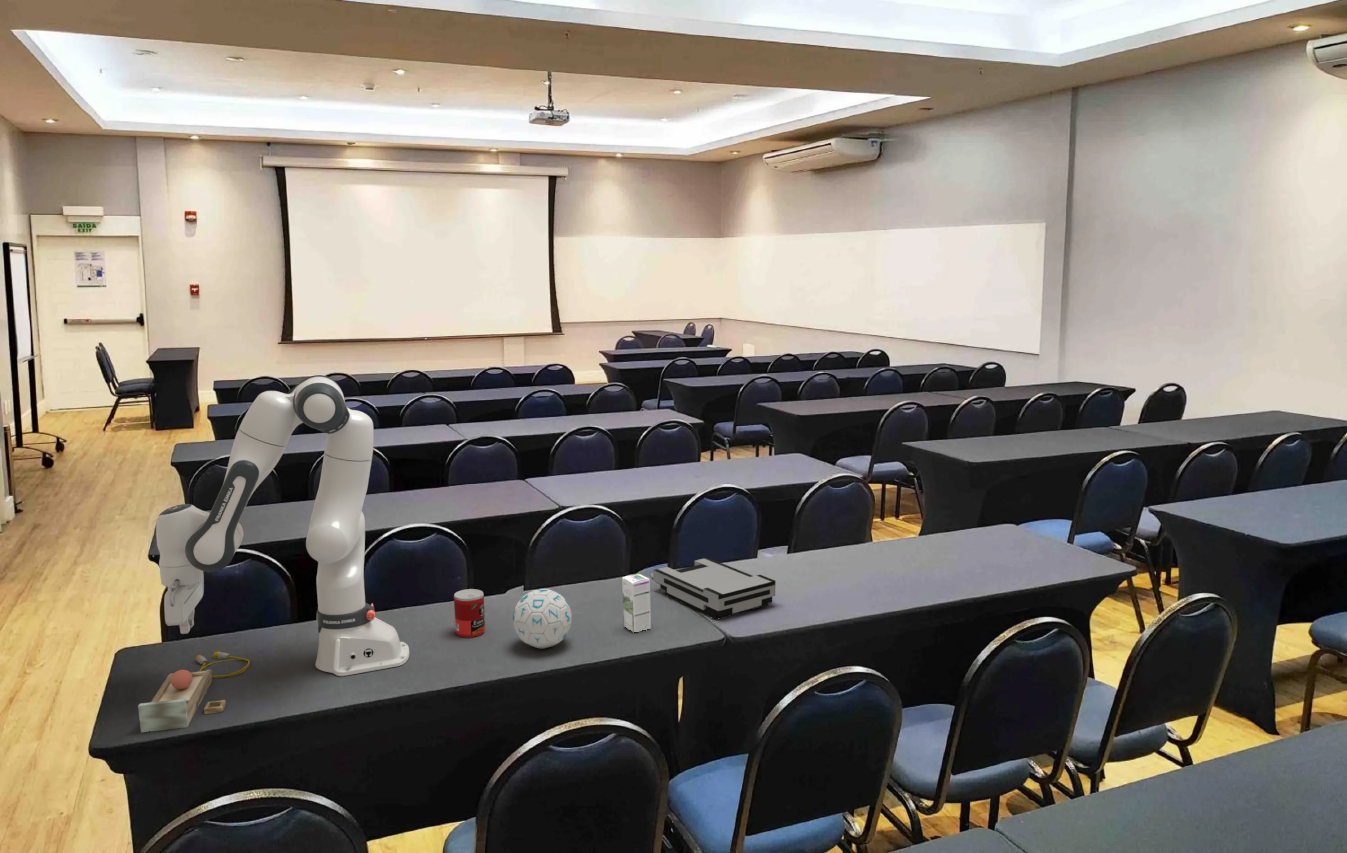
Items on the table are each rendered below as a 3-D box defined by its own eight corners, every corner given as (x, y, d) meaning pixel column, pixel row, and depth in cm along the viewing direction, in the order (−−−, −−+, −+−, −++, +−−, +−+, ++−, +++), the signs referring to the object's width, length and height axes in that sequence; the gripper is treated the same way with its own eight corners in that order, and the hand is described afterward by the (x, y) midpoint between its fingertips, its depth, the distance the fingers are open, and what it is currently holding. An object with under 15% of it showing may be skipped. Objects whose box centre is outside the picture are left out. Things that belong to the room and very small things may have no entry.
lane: (212, 681, 224) (210, 657, 223) (187, 727, 201) (184, 700, 200) (170, 685, 221) (168, 661, 220) (140, 732, 199) (138, 706, 198)
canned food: (476, 639, 247) (474, 599, 246) (449, 636, 250) (448, 596, 248) (490, 629, 255) (489, 590, 253) (465, 625, 257) (463, 587, 255)
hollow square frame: (225, 704, 211) (225, 699, 211) (222, 712, 208) (221, 707, 207) (208, 706, 210) (207, 701, 210) (204, 714, 207) (204, 709, 207)
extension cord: (248, 651, 242) (248, 644, 241) (251, 675, 228) (250, 667, 228) (196, 660, 237) (195, 653, 236) (195, 685, 223) (194, 677, 222)
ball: (195, 673, 218) (191, 665, 215) (193, 691, 216) (188, 683, 212) (174, 675, 217) (170, 667, 214) (172, 693, 215) (167, 685, 211)
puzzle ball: (576, 653, 238) (574, 597, 235) (516, 660, 234) (514, 603, 232) (567, 631, 252) (566, 578, 250) (511, 637, 249) (509, 583, 246)
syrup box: (651, 629, 254) (651, 578, 251) (633, 634, 250) (632, 582, 248) (640, 622, 258) (639, 572, 256) (622, 627, 255) (621, 576, 252)
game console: (707, 578, 295) (707, 553, 294) (775, 607, 270) (775, 580, 268) (653, 592, 284) (653, 566, 282) (718, 623, 258) (718, 595, 256)
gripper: (185, 586, 210) (190, 645, 212) (206, 559, 229) (211, 613, 231) (154, 589, 208) (160, 648, 210) (178, 561, 228) (183, 616, 230)
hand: (187, 629), depth 221 cm, fingers open, 2 cm apart
